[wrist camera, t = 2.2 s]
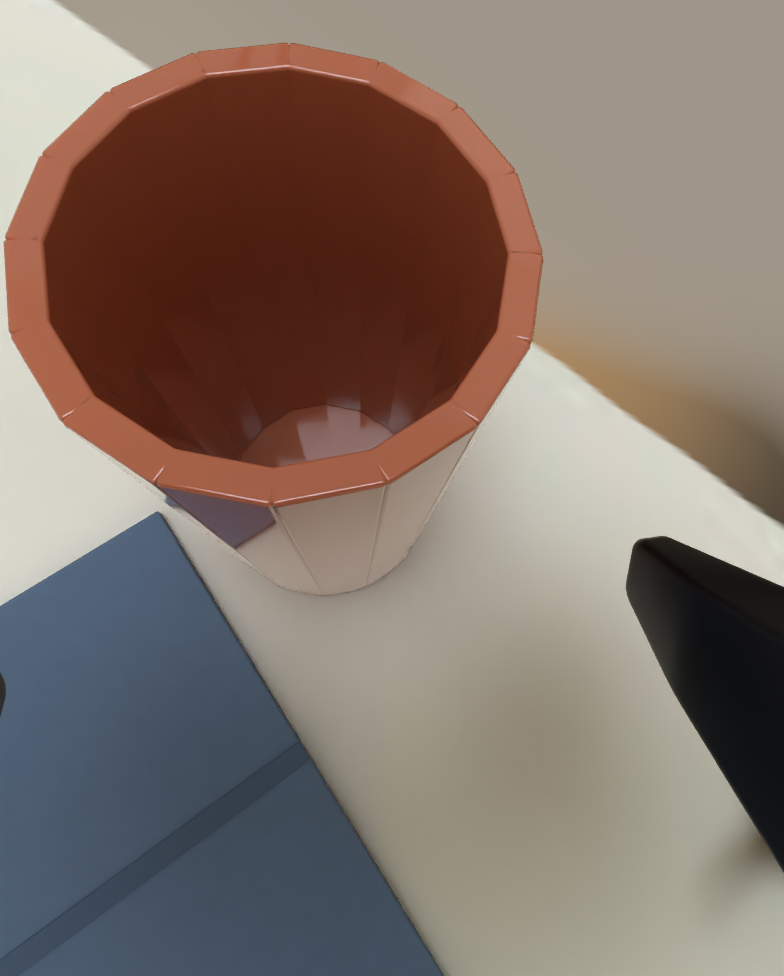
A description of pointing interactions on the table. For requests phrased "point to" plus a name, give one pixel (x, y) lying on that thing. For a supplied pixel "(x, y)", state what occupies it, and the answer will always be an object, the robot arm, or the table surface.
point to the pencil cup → (277, 298)
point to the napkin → (168, 793)
